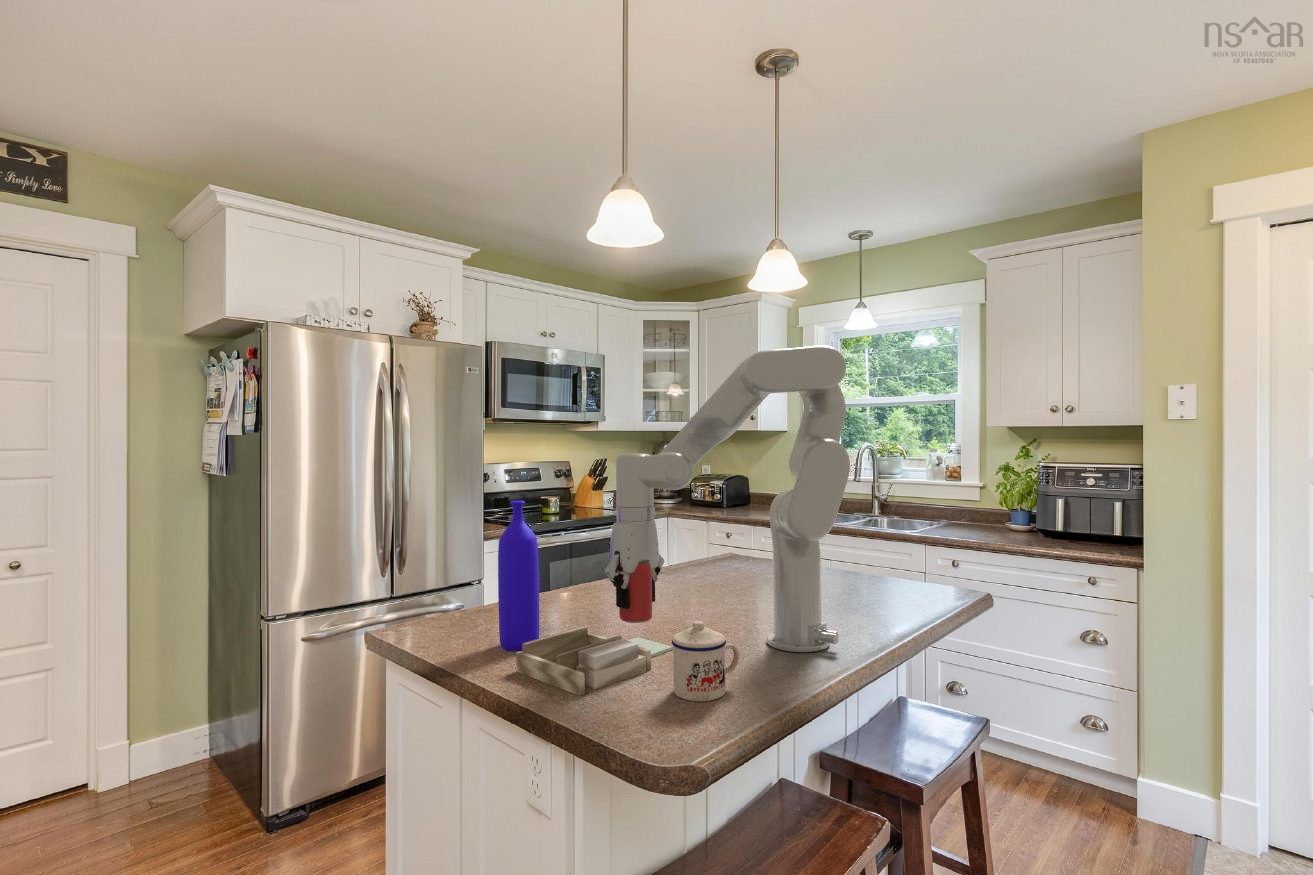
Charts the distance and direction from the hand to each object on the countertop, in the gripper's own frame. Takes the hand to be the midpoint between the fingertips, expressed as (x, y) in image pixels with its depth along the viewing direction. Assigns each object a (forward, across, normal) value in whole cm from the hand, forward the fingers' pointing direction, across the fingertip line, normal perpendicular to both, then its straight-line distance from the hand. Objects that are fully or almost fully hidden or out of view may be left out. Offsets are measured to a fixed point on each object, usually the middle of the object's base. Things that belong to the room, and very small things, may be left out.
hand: (635, 603), depth 133 cm
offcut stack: (+10, +13, +7) cm, 18 cm away
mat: (+9, 0, 0) cm, 9 cm away
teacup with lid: (+10, +7, +24) cm, 27 cm away
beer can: (+3, 0, 0) cm, 3 cm away
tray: (+10, +14, +1) cm, 17 cm away
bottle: (+10, +13, -21) cm, 27 cm away
